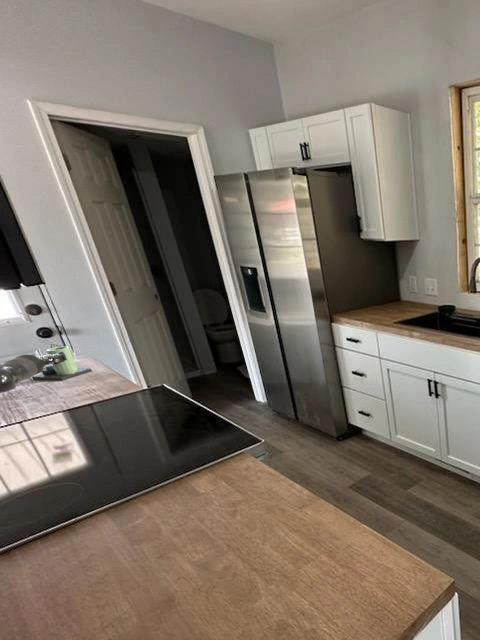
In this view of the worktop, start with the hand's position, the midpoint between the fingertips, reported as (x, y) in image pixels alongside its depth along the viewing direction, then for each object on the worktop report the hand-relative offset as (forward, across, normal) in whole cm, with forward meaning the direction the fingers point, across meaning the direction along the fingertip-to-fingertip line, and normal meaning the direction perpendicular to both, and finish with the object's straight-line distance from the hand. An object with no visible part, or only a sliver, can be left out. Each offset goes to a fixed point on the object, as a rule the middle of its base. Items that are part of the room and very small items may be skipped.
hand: (47, 355), depth 155 cm
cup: (+8, 0, +9) cm, 12 cm away
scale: (+9, +2, +10) cm, 14 cm away
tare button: (+11, +6, +8) cm, 15 cm away
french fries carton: (+24, +8, +11) cm, 28 cm away
